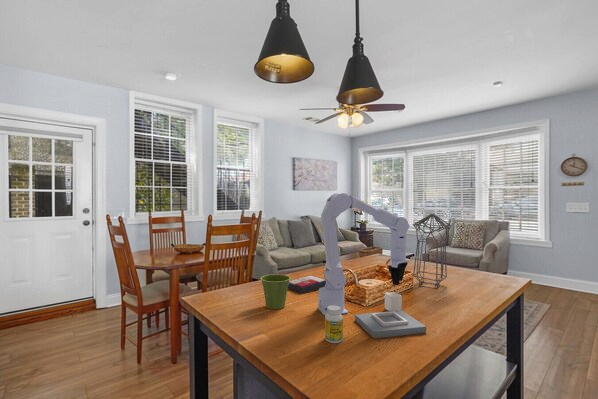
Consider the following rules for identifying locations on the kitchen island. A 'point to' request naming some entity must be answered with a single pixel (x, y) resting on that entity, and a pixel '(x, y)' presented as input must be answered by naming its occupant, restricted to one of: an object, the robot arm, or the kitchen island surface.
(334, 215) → the robot arm
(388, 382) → the kitchen island surface
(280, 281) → the plant pot
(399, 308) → the cream block
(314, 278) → the dark product box
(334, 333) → the supplement bottle
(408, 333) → the display plinth
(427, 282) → the geometric lantern
